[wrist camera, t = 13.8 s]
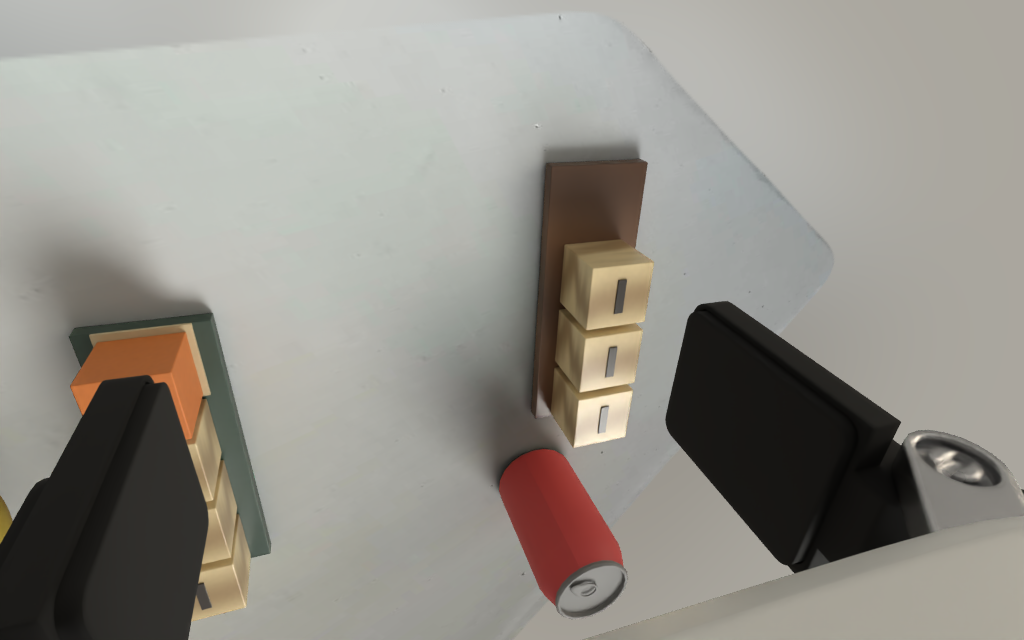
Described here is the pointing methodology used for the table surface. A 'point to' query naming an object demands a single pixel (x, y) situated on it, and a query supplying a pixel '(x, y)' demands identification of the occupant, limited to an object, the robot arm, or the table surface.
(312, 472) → the table surface
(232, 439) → the slotted cube rack
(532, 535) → the beer can
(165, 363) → the orange slotted cube
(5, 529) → the fruit
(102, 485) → the robot arm
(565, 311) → the slotted cubes on board
